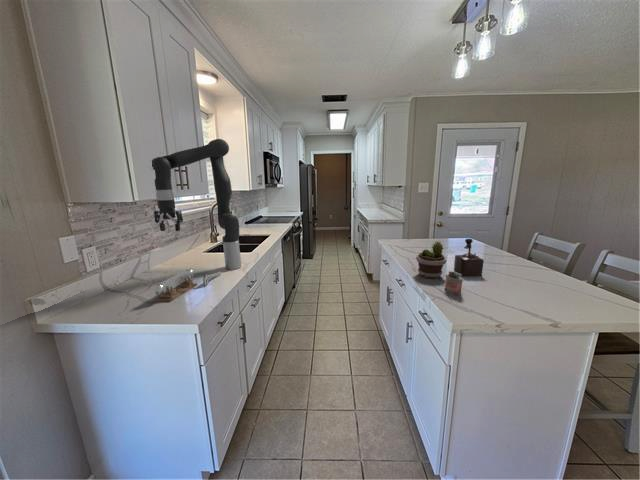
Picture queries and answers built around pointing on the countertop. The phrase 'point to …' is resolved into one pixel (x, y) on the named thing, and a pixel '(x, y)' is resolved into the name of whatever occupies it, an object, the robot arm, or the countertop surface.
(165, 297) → the tool rest
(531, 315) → the countertop surface
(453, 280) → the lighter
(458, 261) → the brown box with post
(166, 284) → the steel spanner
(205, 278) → the caliper
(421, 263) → the flowerpot
